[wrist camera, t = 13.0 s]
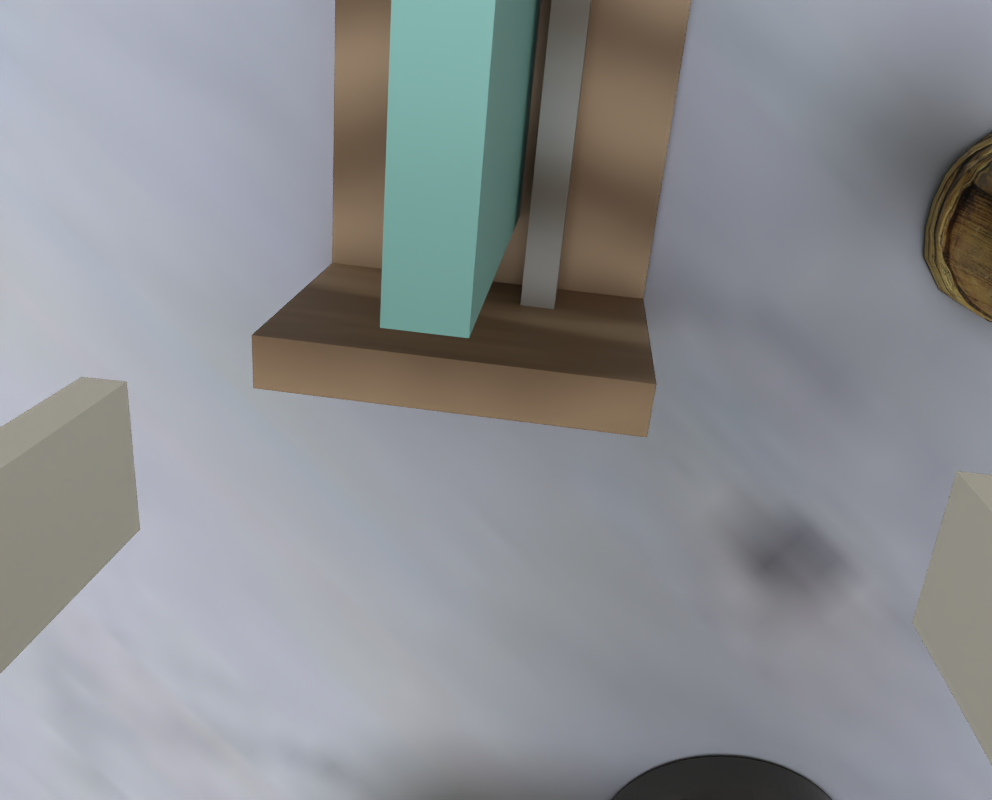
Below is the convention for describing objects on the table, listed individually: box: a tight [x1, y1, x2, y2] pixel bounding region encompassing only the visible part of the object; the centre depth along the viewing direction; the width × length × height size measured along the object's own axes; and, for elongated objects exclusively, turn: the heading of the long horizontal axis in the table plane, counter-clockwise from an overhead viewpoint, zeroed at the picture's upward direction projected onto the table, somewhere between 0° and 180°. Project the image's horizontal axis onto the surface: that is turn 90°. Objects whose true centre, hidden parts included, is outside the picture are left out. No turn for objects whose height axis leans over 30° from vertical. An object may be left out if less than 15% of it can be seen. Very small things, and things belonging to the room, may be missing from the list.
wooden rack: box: [252, 0, 691, 437], centre depth 31 cm, size 26×14×12 cm, turn 175°
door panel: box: [380, 0, 541, 338], centre depth 27 cm, size 16×2×16 cm, turn 175°
